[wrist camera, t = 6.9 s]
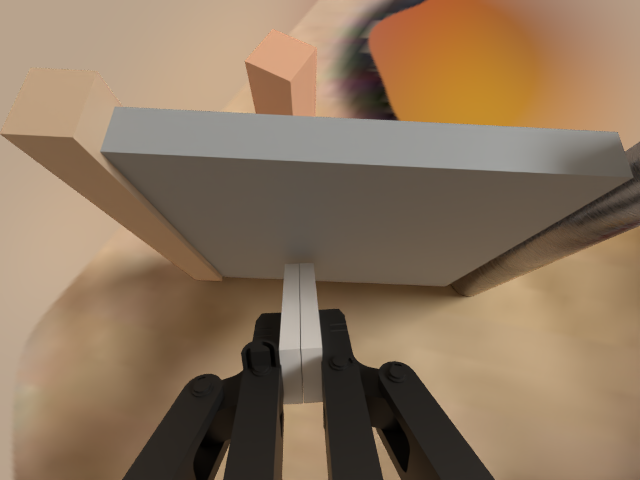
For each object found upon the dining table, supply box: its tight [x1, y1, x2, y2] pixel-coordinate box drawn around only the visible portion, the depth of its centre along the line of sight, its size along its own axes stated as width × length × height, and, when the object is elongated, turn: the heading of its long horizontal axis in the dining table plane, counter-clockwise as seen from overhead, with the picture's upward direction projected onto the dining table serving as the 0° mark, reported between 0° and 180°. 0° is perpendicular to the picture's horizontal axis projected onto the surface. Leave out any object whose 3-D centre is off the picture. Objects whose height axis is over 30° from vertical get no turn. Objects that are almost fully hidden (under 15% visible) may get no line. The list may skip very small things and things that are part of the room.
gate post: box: [451, 142, 640, 296], centre depth 15 cm, size 2×2×18 cm
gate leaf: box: [0, 68, 634, 286], centre depth 16 cm, size 17×2×15 cm, turn 88°
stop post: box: [245, 29, 317, 117], centre depth 23 cm, size 3×3×9 cm
